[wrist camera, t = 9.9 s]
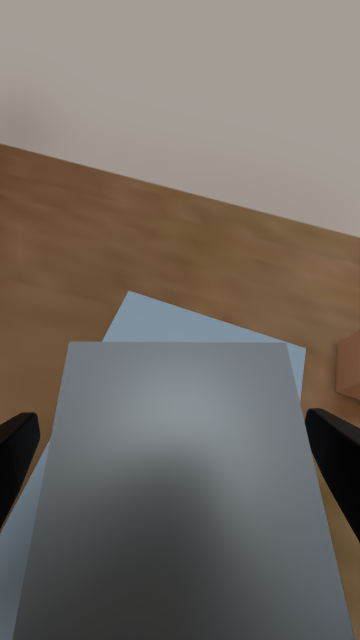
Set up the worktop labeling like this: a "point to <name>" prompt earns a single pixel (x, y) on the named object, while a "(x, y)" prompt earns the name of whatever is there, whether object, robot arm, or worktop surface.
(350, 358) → the exposed block
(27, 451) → the robot arm
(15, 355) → the worktop surface
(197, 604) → the tall gray block
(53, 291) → the worktop surface
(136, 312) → the board
